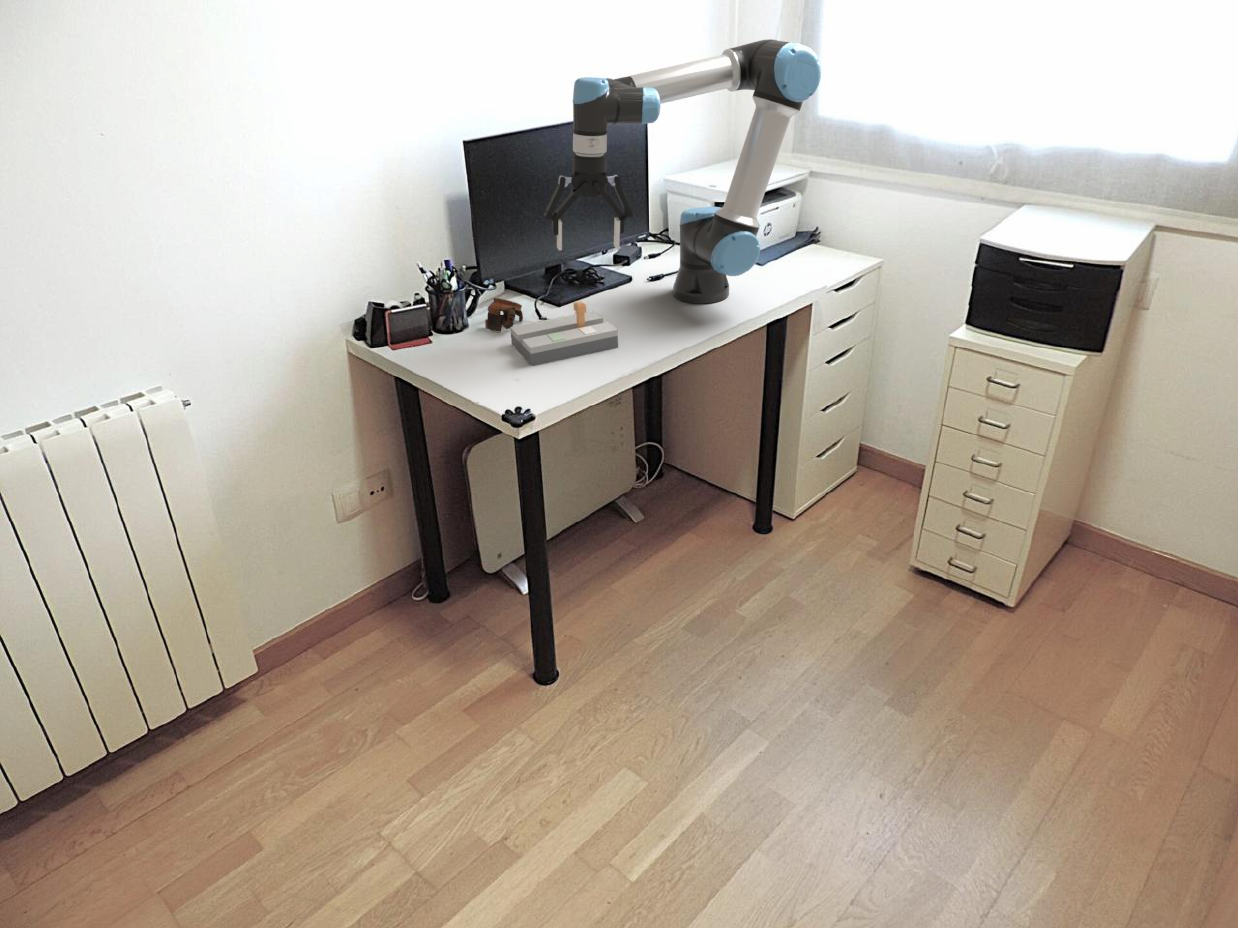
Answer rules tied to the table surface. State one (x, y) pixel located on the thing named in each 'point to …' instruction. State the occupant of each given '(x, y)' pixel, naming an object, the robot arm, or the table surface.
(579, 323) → the breaker handle
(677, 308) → the table surface
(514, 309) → the brown arched block
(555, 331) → the box
